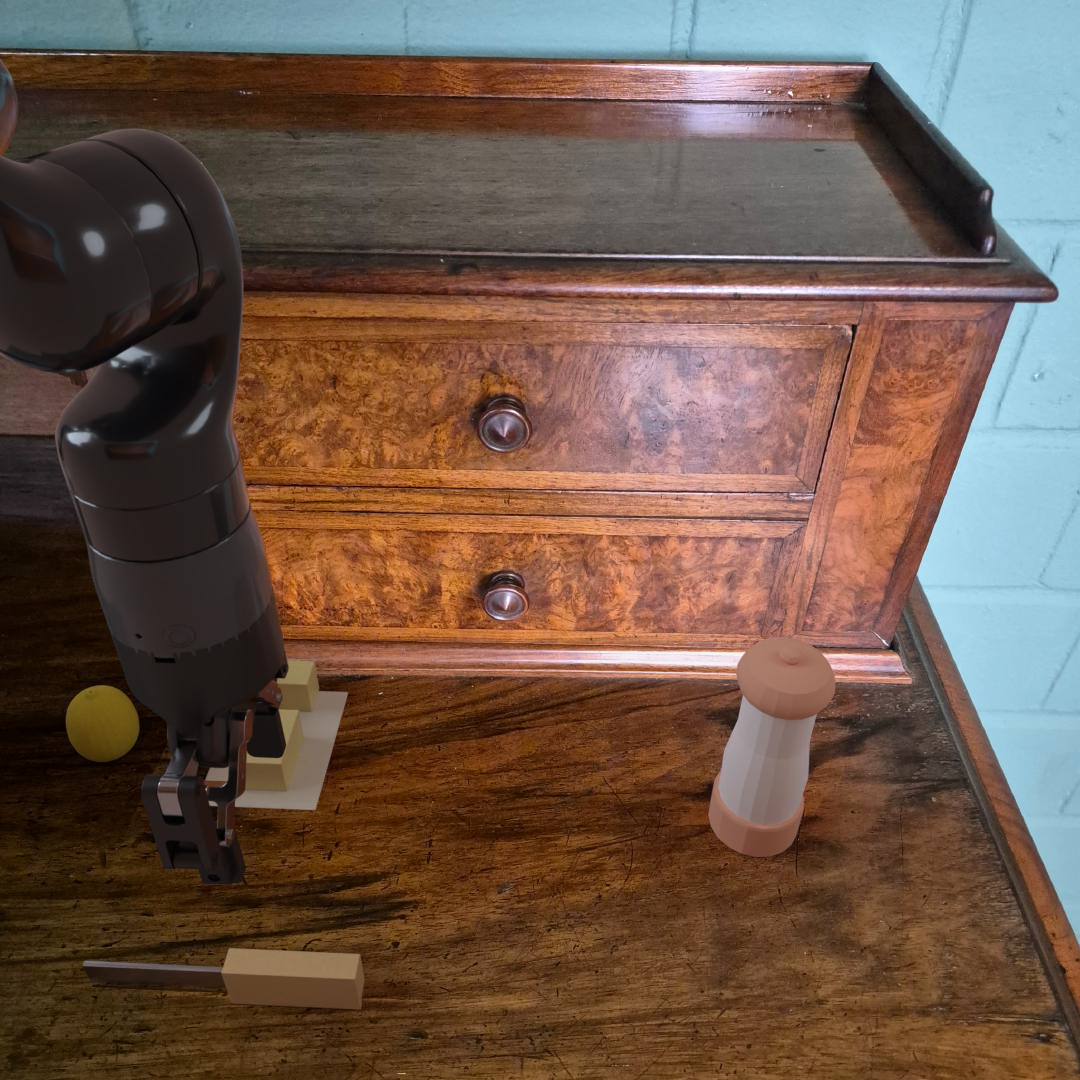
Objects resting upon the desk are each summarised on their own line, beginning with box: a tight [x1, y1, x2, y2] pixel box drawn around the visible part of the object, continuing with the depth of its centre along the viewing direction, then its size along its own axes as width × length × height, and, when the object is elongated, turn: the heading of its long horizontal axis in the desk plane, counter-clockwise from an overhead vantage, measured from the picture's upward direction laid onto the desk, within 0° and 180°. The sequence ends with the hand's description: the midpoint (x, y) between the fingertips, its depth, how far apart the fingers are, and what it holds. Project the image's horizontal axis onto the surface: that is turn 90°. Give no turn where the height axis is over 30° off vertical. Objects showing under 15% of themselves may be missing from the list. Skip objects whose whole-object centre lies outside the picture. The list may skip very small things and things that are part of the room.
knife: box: [82, 947, 366, 1011], centre depth 65 cm, size 19×2×4 cm, turn 88°
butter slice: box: [277, 659, 320, 711], centre depth 87 cm, size 4×3×4 cm, turn 88°
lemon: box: [65, 684, 140, 763], centre depth 81 cm, size 6×6×8 cm
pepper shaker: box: [707, 636, 836, 858], centre depth 73 cm, size 7×7×19 cm
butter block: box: [245, 709, 304, 791], centre depth 81 cm, size 4×6×4 cm
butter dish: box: [204, 690, 349, 811], centre depth 83 cm, size 10×13×1 cm
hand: (247, 811), depth 54 cm, fingers open, 8 cm apart
